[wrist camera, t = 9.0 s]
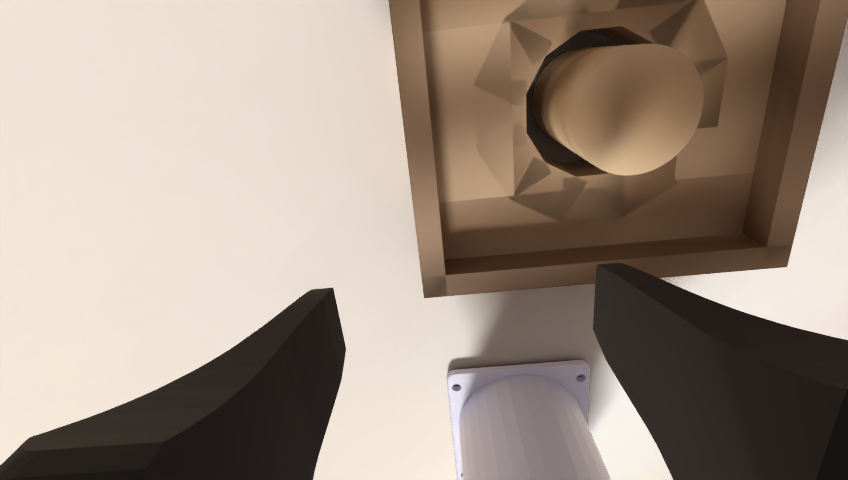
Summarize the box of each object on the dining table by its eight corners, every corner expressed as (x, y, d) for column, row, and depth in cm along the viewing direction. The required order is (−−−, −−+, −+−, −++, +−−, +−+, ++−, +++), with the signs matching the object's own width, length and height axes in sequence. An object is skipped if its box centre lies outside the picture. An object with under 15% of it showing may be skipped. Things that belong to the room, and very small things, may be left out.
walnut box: (725, 231, 22) (787, 266, 18) (424, 258, 22) (424, 297, 19) (786, -117, 16) (892, -169, 12) (387, -66, 17) (376, -101, 13)
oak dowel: (619, 139, 20) (693, 169, 14) (532, 146, 20) (571, 180, 15) (627, 43, 18) (713, 37, 13) (532, 53, 19) (576, 50, 13)
